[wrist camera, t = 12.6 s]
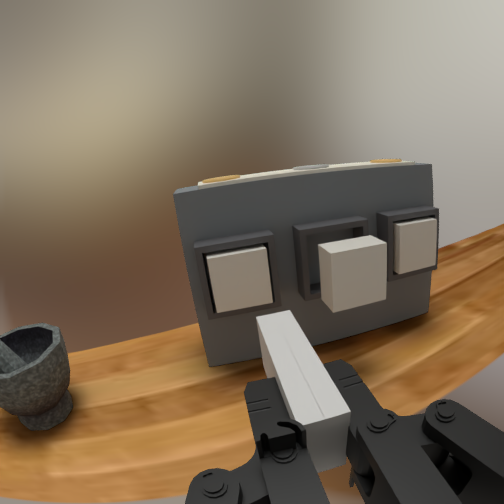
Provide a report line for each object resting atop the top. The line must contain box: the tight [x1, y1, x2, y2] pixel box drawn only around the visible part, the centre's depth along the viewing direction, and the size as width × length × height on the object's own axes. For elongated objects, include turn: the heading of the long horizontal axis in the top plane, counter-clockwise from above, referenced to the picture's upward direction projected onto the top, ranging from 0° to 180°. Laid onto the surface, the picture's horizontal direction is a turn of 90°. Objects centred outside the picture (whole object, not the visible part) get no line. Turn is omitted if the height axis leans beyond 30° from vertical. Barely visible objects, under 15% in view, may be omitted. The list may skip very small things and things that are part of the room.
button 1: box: [206, 243, 273, 313], centre depth 25 cm, size 4×2×4 cm, turn 99°
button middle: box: [318, 235, 387, 313], centre depth 23 cm, size 4×2×4 cm, turn 99°
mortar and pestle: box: [0, 323, 73, 430], centre depth 21 cm, size 11×9×12 cm
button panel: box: [173, 159, 439, 367], centre depth 29 cm, size 24×7×16 cm, turn 99°
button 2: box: [393, 216, 437, 274], centre depth 27 cm, size 4×2×4 cm, turn 99°
